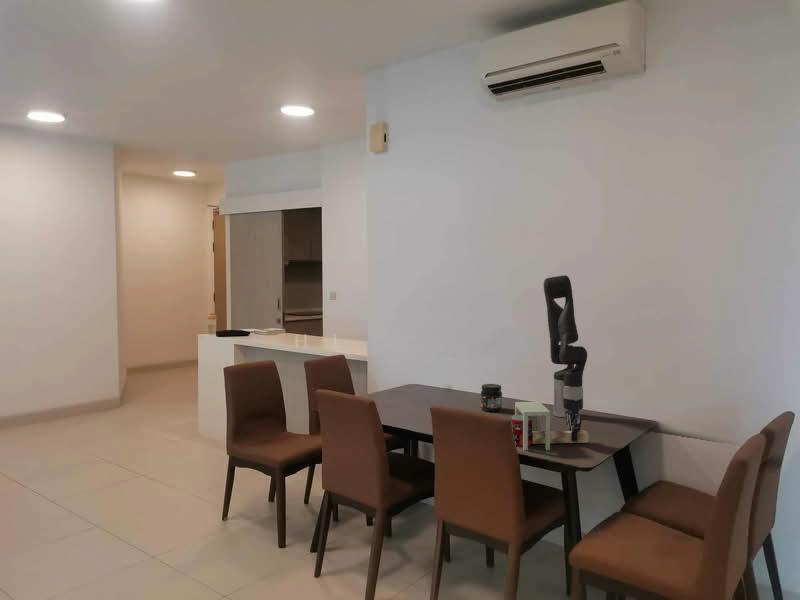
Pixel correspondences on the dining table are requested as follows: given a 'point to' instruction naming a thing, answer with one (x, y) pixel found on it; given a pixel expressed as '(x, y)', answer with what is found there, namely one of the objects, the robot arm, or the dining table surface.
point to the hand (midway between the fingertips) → (573, 439)
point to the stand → (533, 420)
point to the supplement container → (491, 397)
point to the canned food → (521, 429)
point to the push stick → (559, 437)
